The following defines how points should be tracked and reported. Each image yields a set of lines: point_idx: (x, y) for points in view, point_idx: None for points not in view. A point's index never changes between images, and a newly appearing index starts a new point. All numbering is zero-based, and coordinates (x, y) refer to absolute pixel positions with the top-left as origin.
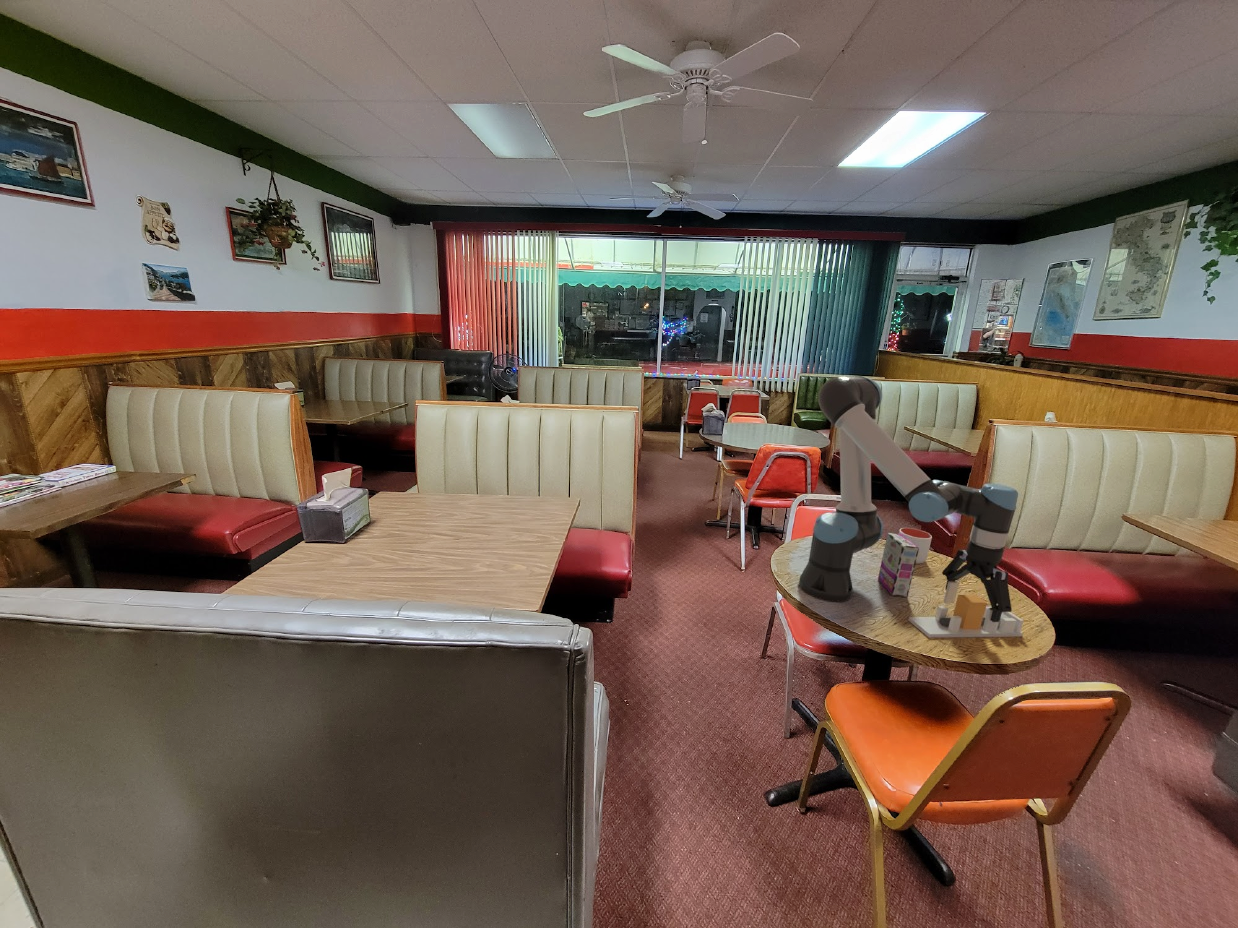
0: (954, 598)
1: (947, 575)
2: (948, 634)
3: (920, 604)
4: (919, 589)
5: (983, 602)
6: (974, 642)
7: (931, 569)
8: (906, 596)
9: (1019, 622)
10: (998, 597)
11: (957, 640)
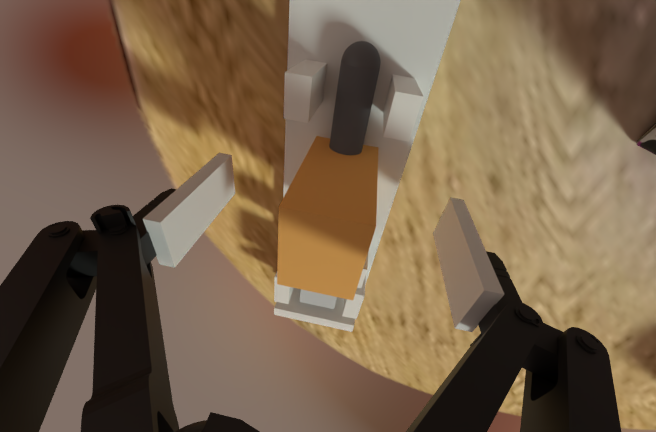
0: (438, 246)
1: (547, 337)
2: (290, 20)
3: (548, 149)
4: (618, 250)
5: (277, 270)
6: (256, 117)
7: (644, 376)
8: (643, 137)
9: (277, 302)
10: (24, 293)
11: (269, 50)
